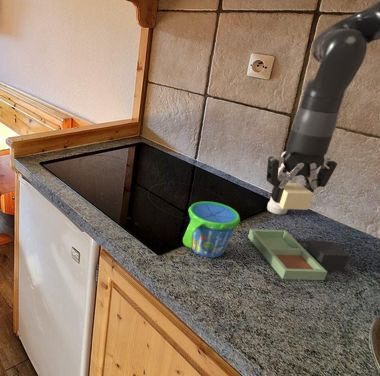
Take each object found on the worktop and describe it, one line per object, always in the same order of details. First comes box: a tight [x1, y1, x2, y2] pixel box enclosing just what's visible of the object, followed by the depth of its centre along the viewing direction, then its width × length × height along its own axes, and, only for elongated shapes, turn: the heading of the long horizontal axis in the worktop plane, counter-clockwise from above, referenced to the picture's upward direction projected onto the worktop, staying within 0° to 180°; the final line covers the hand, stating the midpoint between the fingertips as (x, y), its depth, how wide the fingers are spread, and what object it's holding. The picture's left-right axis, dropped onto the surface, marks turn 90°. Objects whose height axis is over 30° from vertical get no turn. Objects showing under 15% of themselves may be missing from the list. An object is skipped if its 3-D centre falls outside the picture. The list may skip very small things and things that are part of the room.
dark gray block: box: [305, 240, 350, 272], centre depth 90 cm, size 6×6×4 cm
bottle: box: [266, 150, 299, 216], centre depth 108 cm, size 5×5×25 cm
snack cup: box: [182, 201, 241, 259], centre depth 93 cm, size 16×10×10 cm
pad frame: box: [247, 228, 328, 281], centre depth 92 cm, size 9×17×2 cm, turn 179°
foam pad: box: [270, 182, 314, 211], centre depth 91 cm, size 6×6×4 cm
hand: (289, 201), depth 92 cm, fingers closed on foam pad, 5 cm apart
